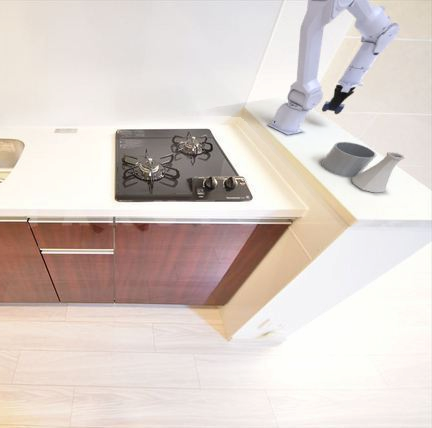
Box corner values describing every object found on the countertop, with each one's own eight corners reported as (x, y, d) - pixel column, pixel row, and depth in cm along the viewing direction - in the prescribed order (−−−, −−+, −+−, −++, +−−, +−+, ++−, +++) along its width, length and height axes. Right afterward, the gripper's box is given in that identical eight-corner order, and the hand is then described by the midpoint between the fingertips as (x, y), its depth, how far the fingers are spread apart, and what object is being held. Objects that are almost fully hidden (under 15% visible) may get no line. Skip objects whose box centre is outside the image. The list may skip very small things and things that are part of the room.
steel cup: (314, 163, 75) (327, 145, 70) (335, 157, 77) (349, 139, 73) (345, 179, 68) (361, 160, 64) (367, 173, 71) (384, 154, 66)
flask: (389, 194, 63) (423, 163, 56) (359, 191, 64) (389, 160, 57) (373, 179, 68) (403, 149, 61) (345, 177, 69) (371, 146, 62)
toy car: (320, 111, 90) (327, 99, 87) (321, 108, 92) (328, 96, 89) (338, 114, 87) (347, 102, 84) (339, 111, 89) (347, 99, 86)
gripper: (373, 73, 73) (343, 116, 83) (374, 64, 81) (346, 104, 91) (346, 69, 76) (320, 111, 86) (349, 62, 84) (325, 100, 94)
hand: (332, 107), depth 89 cm, fingers closed on toy car, 3 cm apart
